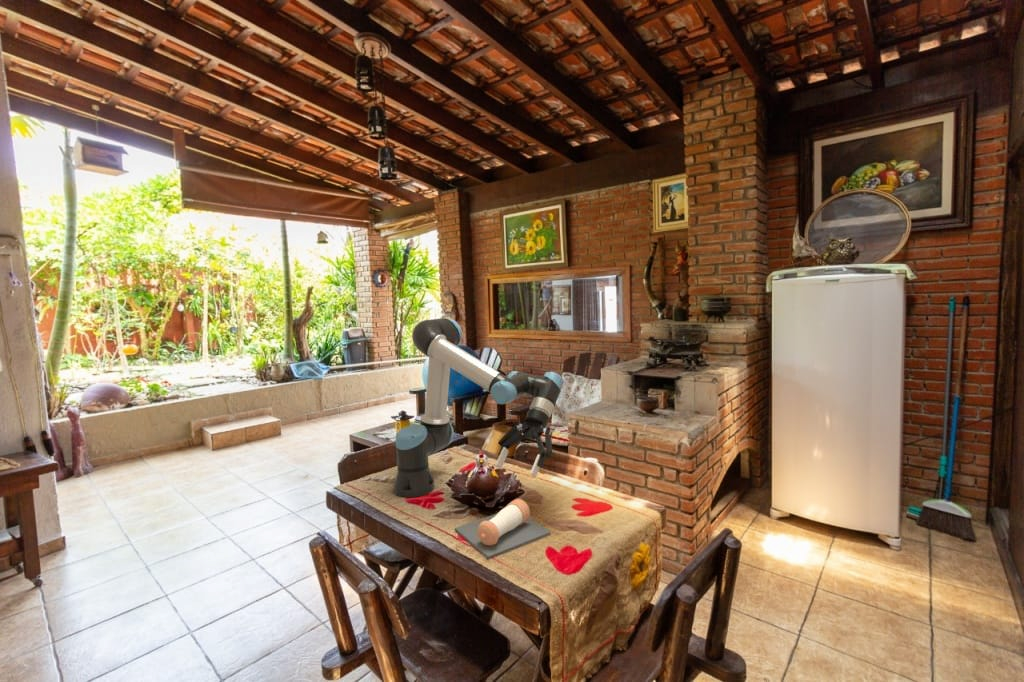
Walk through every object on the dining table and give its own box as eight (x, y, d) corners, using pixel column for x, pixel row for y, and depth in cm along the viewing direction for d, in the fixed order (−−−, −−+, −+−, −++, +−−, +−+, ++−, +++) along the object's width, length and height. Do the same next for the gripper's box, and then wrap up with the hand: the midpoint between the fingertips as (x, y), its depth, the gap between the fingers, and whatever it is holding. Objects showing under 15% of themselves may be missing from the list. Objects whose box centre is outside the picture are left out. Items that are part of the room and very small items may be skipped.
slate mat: (454, 530, 143) (454, 527, 142) (513, 510, 155) (513, 507, 155) (488, 559, 126) (487, 556, 126) (550, 534, 138) (550, 531, 138)
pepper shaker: (531, 522, 143) (494, 552, 127) (512, 519, 147) (474, 547, 132) (528, 499, 143) (490, 526, 127) (509, 497, 147) (470, 523, 132)
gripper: (576, 424, 151) (553, 484, 140) (514, 414, 165) (490, 468, 155) (567, 412, 146) (543, 473, 135) (505, 403, 161) (479, 458, 150)
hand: (514, 471), depth 145 cm, fingers open, 13 cm apart
